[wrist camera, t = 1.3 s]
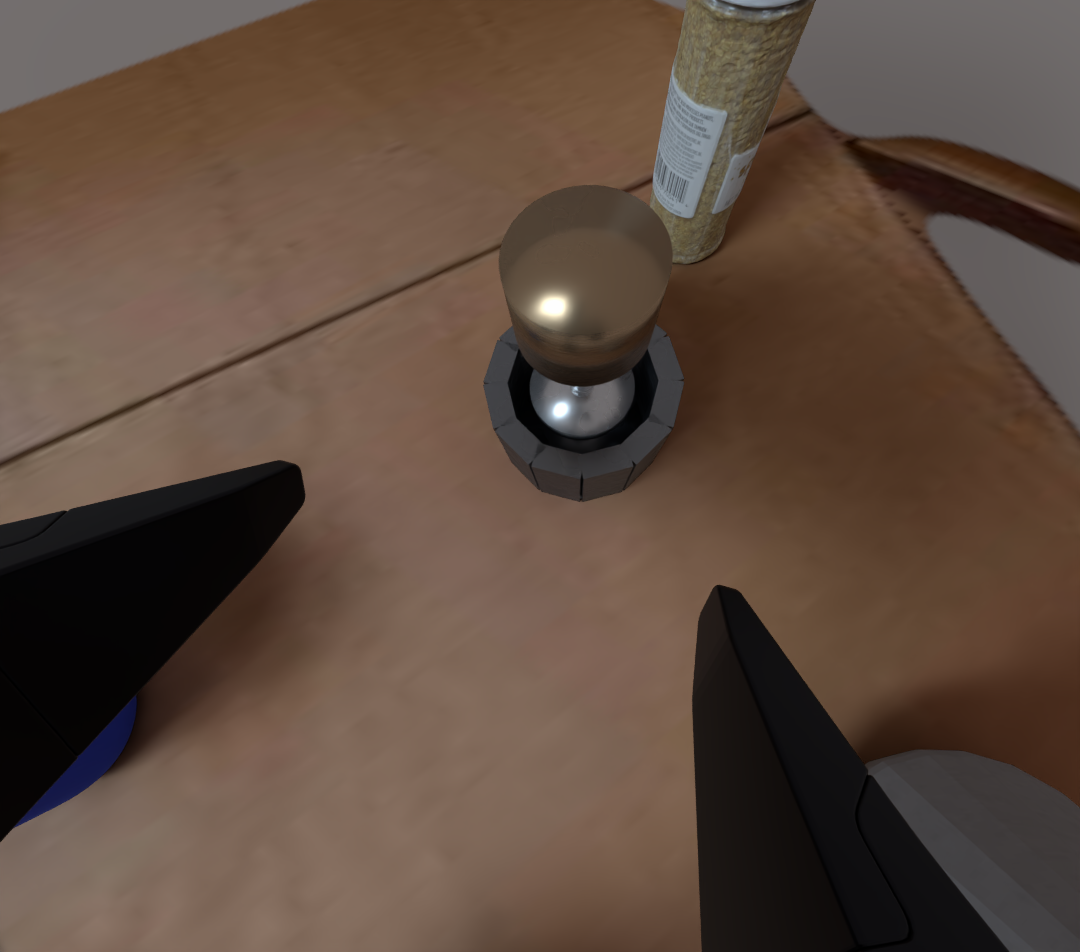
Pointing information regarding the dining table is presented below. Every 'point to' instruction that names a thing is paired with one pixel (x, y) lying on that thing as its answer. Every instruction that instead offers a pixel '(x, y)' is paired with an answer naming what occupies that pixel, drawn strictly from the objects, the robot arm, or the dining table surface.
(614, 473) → the press body
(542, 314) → the plunger
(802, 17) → the sprinkles bottle
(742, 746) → the robot arm
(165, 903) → the dining table surface
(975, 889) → the coffee pot
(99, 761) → the mug
